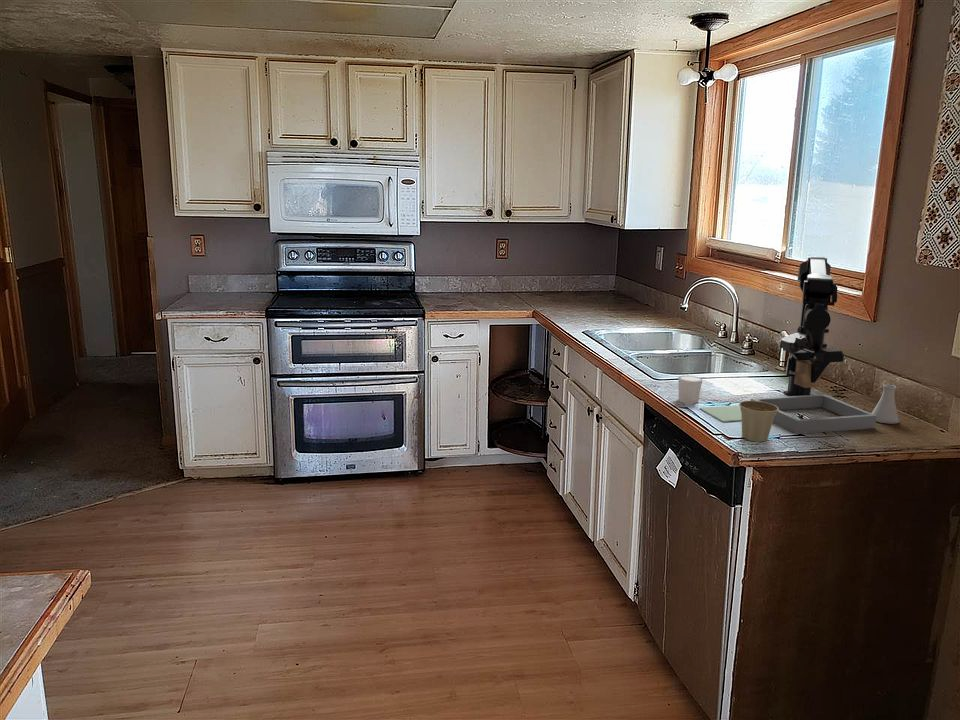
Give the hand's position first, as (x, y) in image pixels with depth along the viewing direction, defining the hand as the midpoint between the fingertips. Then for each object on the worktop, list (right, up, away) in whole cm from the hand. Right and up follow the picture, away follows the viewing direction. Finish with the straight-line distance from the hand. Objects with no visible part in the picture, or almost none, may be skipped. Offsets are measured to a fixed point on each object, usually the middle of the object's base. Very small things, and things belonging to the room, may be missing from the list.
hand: (807, 380), depth 202 cm
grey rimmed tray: (+2, -11, +2) cm, 11 cm away
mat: (-19, -10, +5) cm, 22 cm away
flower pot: (-19, -15, -14) cm, 28 cm away
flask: (+23, -11, +3) cm, 25 cm away
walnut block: (0, -1, 0) cm, 2 cm away
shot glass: (-28, -7, +17) cm, 33 cm away
